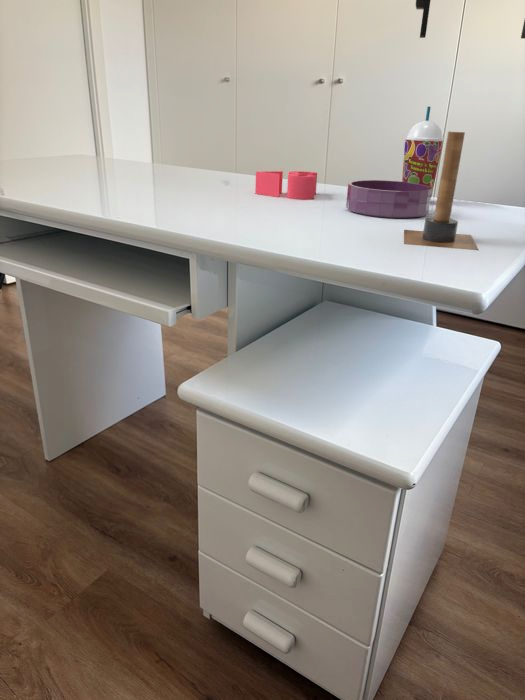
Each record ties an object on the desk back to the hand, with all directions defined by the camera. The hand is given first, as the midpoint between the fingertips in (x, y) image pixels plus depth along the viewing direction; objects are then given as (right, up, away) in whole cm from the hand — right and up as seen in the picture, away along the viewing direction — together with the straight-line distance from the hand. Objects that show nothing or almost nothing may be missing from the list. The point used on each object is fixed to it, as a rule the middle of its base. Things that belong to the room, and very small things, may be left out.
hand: (473, 37), depth 74 cm
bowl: (-4, -16, +34) cm, 38 cm away
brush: (-1, -26, +12) cm, 28 cm away
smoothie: (+6, -10, +49) cm, 50 cm away
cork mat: (-1, -26, +12) cm, 29 cm away
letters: (-24, -7, +52) cm, 58 cm away
